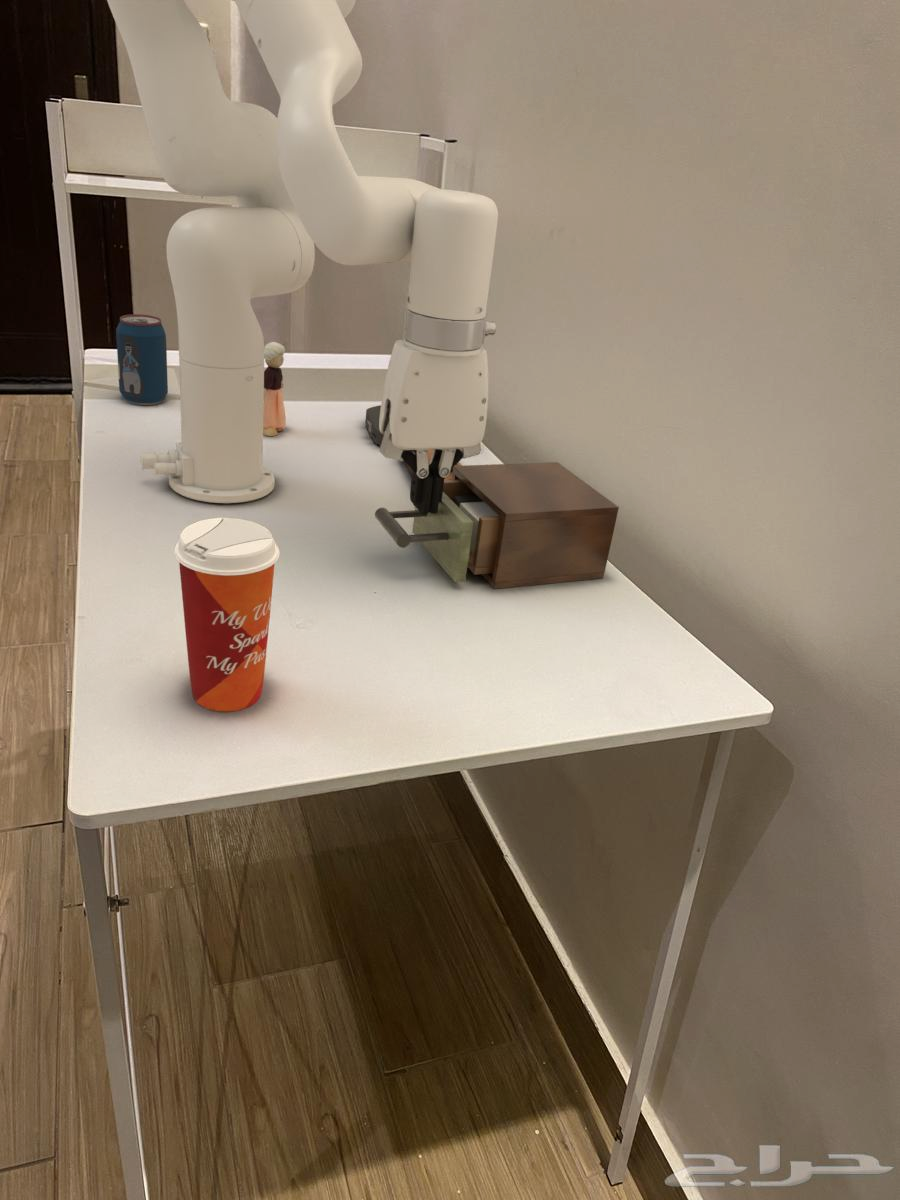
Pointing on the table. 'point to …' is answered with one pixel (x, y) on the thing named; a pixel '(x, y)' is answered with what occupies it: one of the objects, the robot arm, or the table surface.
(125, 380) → the soda can
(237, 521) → the paper cup
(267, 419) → the grandmother figurine
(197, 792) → the table surface
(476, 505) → the eraser
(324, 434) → the table surface
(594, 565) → the cabinet
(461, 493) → the drawer
